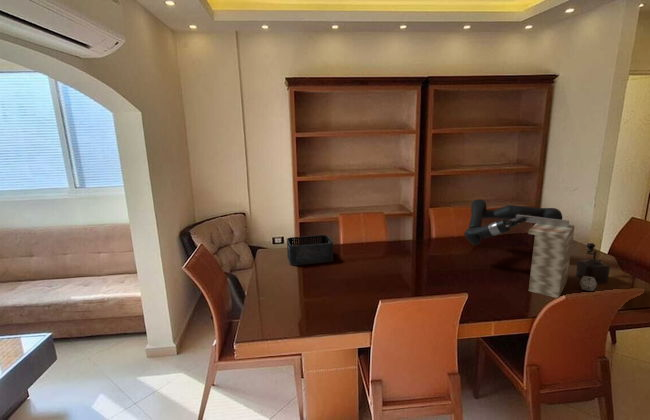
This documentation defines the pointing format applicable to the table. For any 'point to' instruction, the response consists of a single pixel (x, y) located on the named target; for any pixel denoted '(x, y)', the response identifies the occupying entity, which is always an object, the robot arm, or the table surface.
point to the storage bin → (309, 250)
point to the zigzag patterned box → (550, 258)
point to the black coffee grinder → (593, 267)
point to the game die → (588, 283)
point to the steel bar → (544, 220)
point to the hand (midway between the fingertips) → (528, 217)
